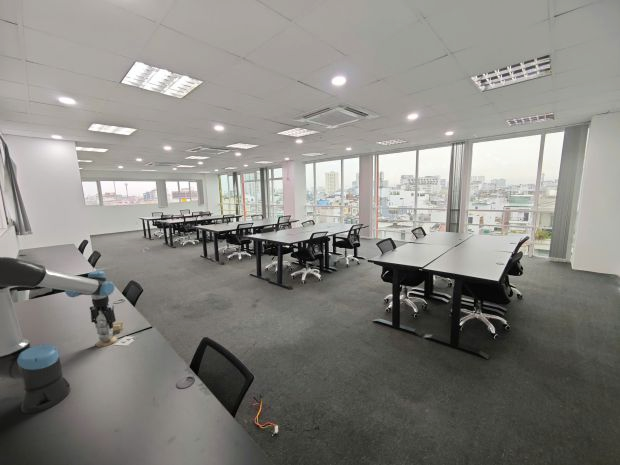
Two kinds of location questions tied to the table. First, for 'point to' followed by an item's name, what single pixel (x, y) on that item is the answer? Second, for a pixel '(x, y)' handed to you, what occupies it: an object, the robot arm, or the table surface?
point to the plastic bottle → (103, 328)
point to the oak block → (118, 327)
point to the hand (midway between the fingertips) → (105, 332)
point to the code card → (125, 341)
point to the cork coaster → (103, 344)
